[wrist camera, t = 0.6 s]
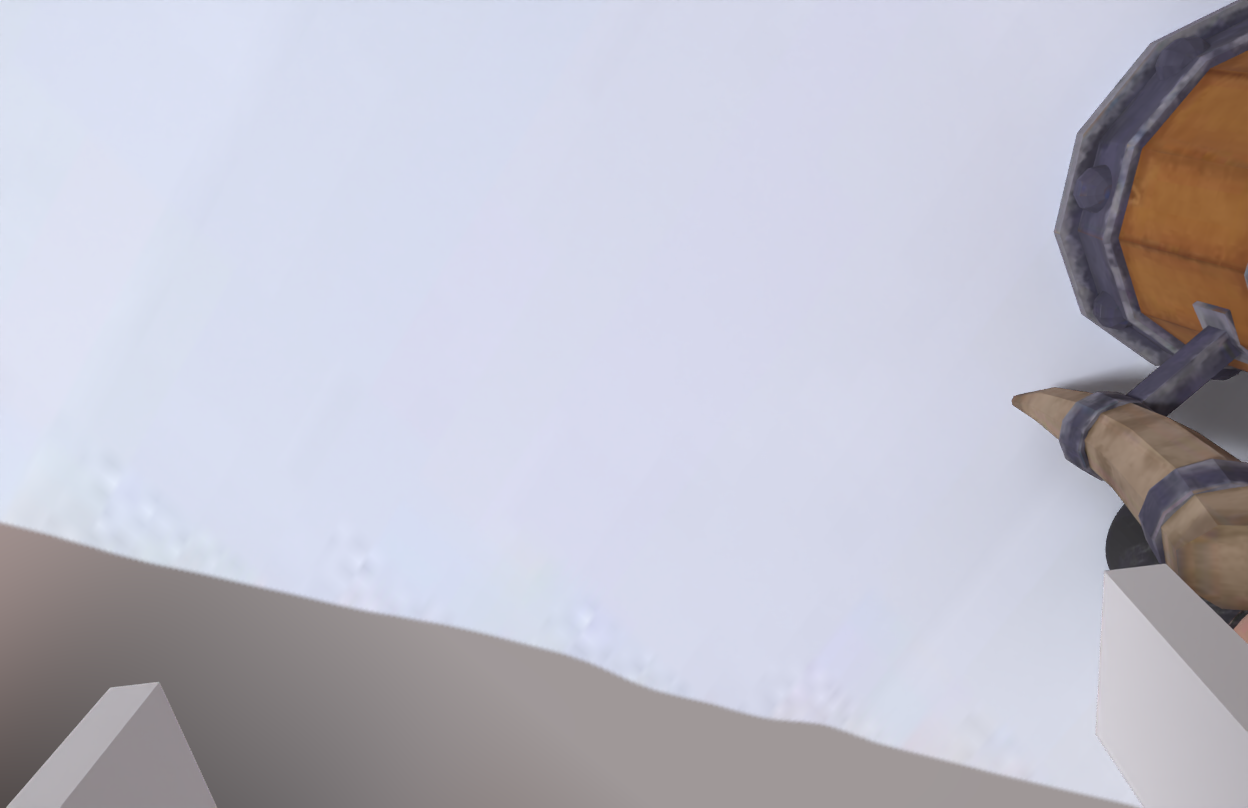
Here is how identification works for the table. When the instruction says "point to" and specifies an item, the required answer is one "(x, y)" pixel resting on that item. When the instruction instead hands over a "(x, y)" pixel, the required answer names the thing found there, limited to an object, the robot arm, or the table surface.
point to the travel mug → (1153, 561)
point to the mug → (1165, 293)
